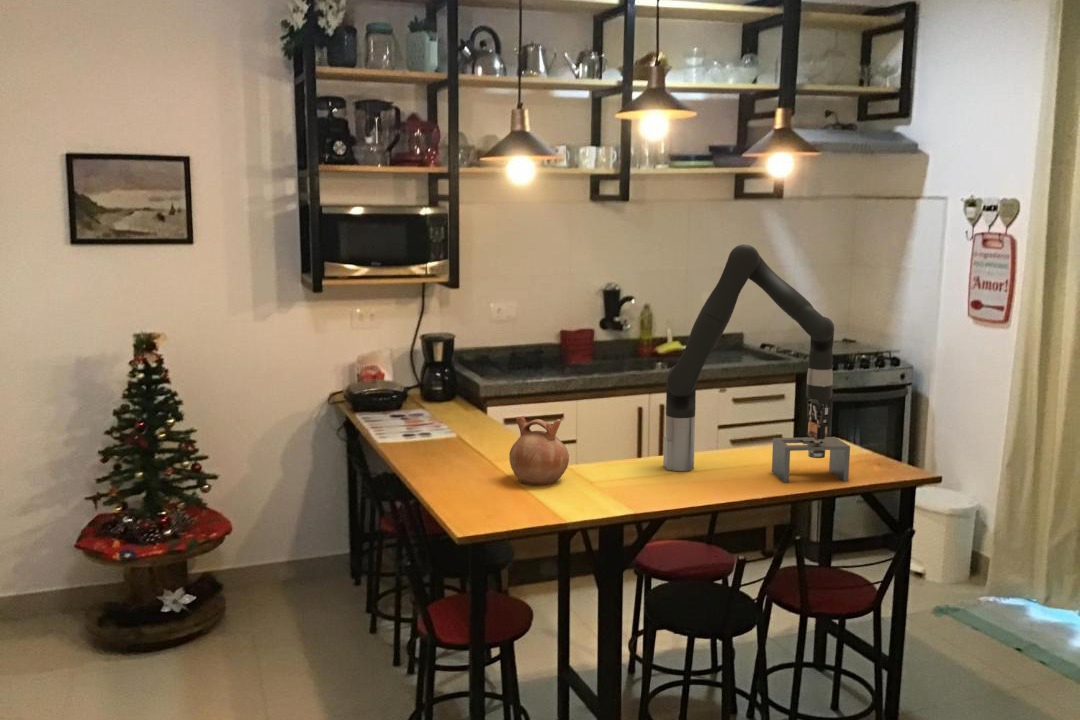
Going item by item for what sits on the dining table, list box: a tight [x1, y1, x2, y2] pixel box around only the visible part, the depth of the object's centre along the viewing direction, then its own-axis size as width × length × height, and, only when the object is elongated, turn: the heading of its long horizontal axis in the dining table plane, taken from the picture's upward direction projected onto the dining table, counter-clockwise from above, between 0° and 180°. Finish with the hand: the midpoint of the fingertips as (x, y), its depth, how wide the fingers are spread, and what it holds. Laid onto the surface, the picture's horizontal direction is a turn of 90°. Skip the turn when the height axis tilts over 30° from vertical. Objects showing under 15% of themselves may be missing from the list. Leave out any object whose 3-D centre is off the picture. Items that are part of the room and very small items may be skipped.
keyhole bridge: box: [771, 436, 851, 484], centre depth 297 cm, size 20×12×11 cm, turn 94°
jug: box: [508, 415, 570, 487], centre depth 293 cm, size 18×18×20 cm
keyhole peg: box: [807, 421, 828, 459], centre depth 296 cm, size 6×6×10 cm
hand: (817, 436), depth 296 cm, fingers closed on keyhole peg, 5 cm apart
